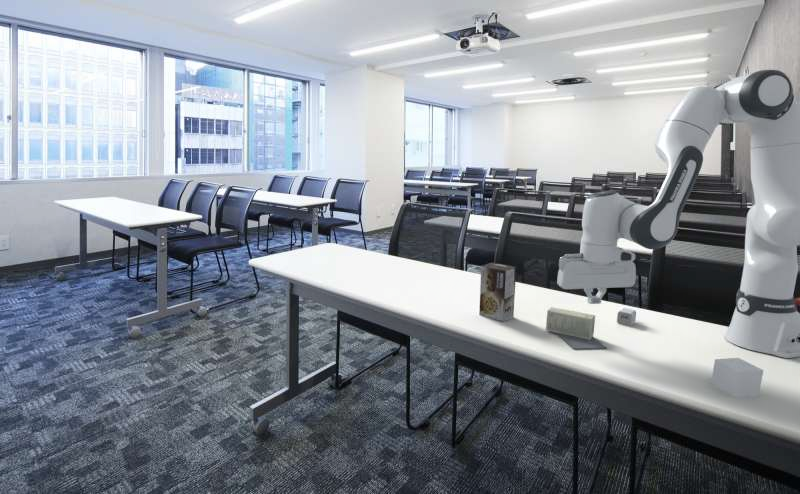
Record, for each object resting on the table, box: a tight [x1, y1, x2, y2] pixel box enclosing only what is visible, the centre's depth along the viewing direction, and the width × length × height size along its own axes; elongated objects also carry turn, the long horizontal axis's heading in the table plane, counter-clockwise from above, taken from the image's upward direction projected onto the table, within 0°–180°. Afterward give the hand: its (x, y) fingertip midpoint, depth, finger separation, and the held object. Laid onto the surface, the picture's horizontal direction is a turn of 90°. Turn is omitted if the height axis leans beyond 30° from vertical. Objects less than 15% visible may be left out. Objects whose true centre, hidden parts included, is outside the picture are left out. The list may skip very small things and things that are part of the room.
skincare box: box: [545, 306, 596, 340], centre depth 128 cm, size 6×4×12 cm
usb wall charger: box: [616, 307, 637, 327], centre depth 138 cm, size 4×7×4 cm, turn 139°
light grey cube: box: [710, 357, 764, 399], centre depth 98 cm, size 6×6×6 cm
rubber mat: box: [555, 333, 608, 351], centre depth 125 cm, size 9×12×1 cm
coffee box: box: [478, 262, 517, 322], centre depth 141 cm, size 9×6×16 cm
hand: (594, 303), depth 122 cm, fingers closed
